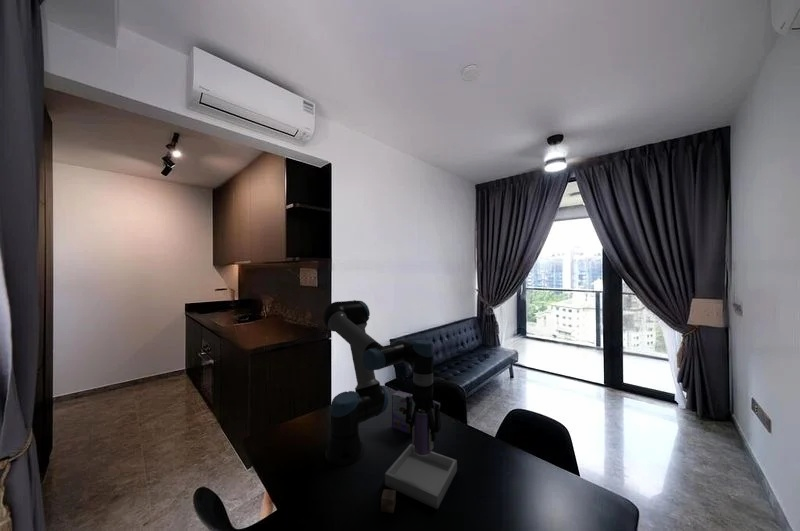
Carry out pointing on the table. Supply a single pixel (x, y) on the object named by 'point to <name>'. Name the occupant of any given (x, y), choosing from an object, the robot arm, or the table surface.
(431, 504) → the bin
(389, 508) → the oak block
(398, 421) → the candy box
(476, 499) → the table surface
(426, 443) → the beverage can
